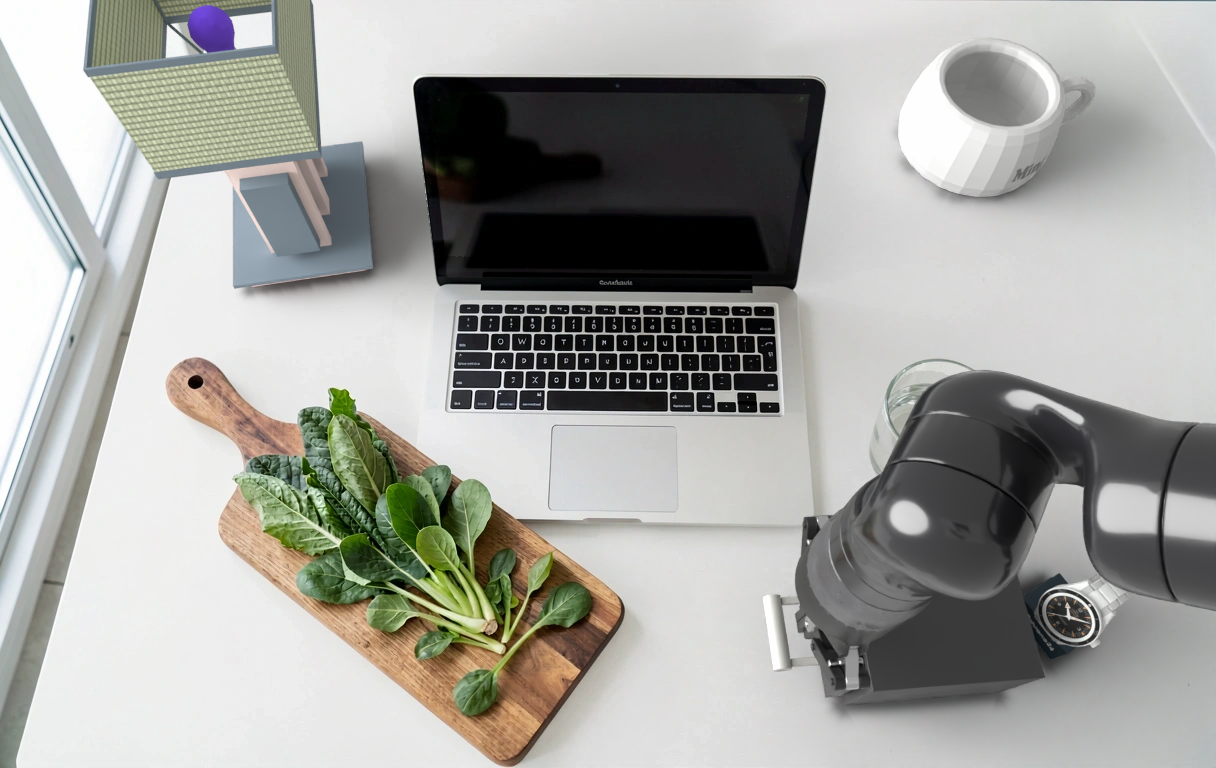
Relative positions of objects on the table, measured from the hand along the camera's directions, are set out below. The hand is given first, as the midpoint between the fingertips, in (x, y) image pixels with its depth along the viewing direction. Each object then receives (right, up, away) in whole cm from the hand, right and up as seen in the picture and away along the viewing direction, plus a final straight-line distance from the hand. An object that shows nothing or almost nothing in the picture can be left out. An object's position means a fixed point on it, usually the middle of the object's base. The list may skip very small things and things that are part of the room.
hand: (808, 622), depth 72 cm
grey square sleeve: (+11, -3, +8) cm, 14 cm away
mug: (+27, +47, +32) cm, 63 cm away
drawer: (+6, -3, +7) cm, 10 cm away
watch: (+23, -2, +9) cm, 25 cm away
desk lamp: (-49, +36, +26) cm, 67 cm away
